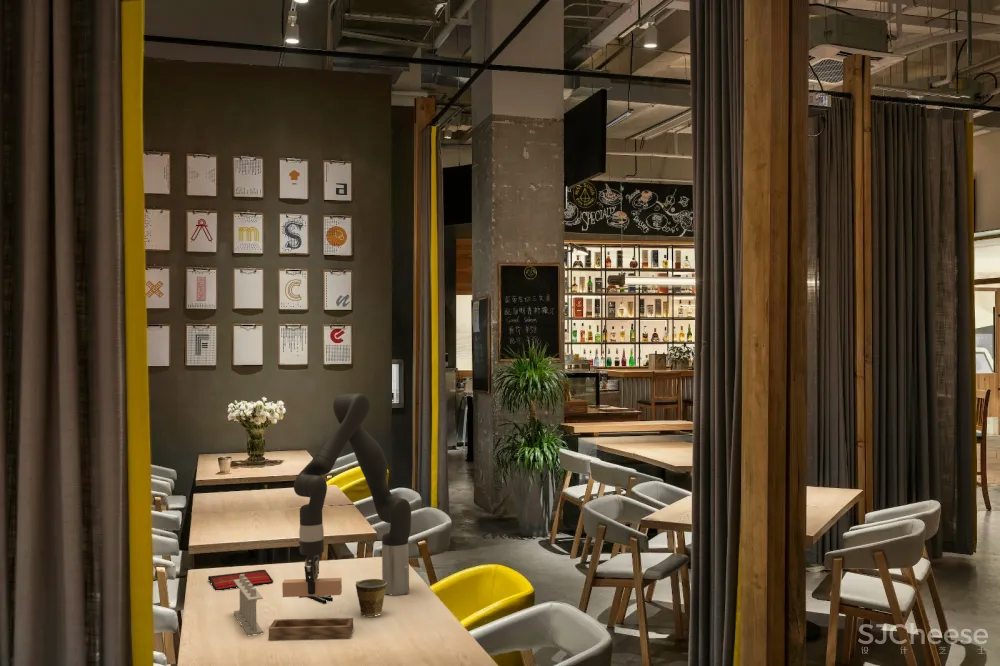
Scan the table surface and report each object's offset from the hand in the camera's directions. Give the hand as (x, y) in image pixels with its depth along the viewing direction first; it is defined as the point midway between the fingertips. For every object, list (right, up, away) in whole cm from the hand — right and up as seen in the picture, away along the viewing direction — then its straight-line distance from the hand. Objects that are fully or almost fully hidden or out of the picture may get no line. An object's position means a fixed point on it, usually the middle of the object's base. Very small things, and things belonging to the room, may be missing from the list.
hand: (312, 591), depth 280 cm
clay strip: (0, -1, 0) cm, 1 cm away
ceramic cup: (+16, -10, +8) cm, 21 cm away
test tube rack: (-20, -10, -1) cm, 23 cm away
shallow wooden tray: (+2, -9, -12) cm, 15 cm away
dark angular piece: (-7, -10, +30) cm, 33 cm away
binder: (-36, -11, +46) cm, 60 cm away
